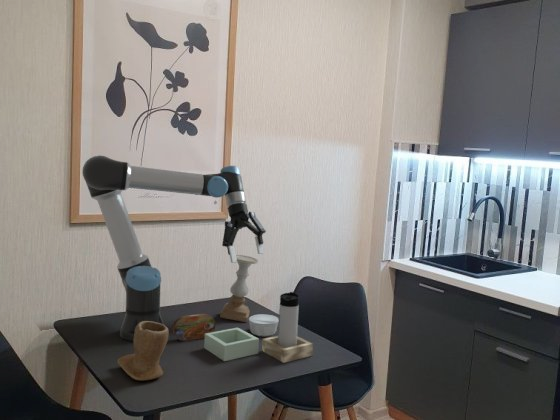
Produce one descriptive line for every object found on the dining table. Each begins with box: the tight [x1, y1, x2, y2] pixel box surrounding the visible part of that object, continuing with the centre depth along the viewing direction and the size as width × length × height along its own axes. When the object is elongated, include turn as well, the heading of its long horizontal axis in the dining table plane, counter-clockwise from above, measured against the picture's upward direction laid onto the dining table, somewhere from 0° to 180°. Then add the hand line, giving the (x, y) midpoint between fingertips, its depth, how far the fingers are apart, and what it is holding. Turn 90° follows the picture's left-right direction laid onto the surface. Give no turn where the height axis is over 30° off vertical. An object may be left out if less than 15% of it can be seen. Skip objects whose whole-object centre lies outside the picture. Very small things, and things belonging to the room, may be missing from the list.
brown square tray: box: [261, 335, 314, 363], centre depth 172 cm, size 12×12×4 cm
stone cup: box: [117, 321, 170, 381], centre depth 151 cm, size 15×12×15 cm
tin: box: [172, 313, 216, 342], centre depth 182 cm, size 15×3×8 cm, turn 117°
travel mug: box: [277, 291, 300, 348], centre depth 171 cm, size 6×7×20 cm
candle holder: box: [219, 254, 259, 323], centre depth 206 cm, size 11×11×24 cm
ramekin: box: [248, 313, 279, 337], centre depth 191 cm, size 11×11×5 cm
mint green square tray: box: [203, 327, 260, 362], centre depth 171 cm, size 13×13×5 cm
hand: (247, 258), depth 196 cm, fingers open, 13 cm apart
